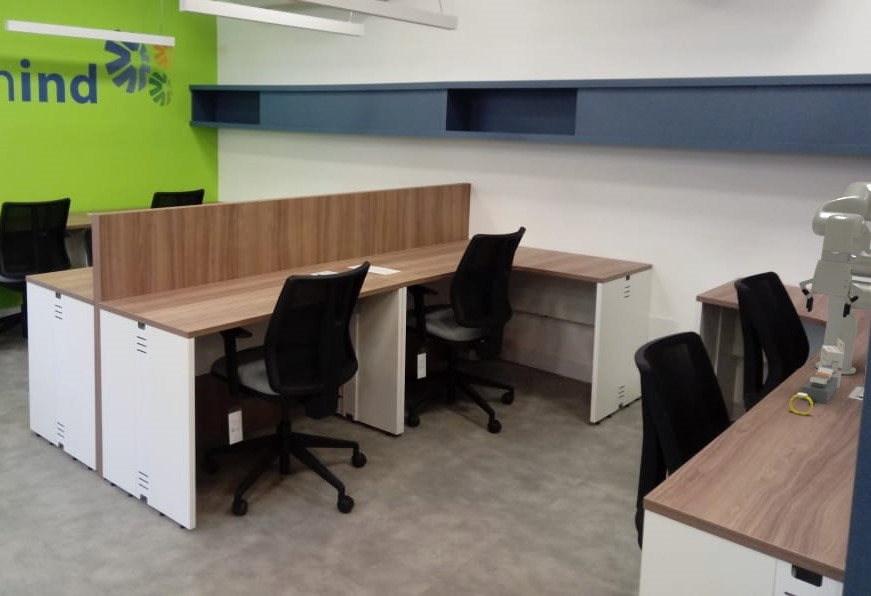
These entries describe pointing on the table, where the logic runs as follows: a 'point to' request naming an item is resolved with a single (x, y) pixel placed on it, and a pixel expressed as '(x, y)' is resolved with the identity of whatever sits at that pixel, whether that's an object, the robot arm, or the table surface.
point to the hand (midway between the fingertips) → (827, 313)
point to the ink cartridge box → (833, 359)
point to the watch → (802, 397)
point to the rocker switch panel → (820, 390)
